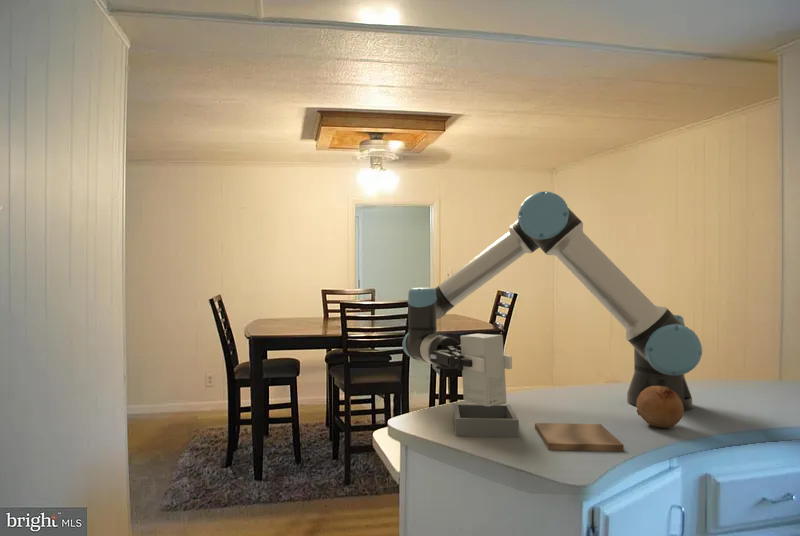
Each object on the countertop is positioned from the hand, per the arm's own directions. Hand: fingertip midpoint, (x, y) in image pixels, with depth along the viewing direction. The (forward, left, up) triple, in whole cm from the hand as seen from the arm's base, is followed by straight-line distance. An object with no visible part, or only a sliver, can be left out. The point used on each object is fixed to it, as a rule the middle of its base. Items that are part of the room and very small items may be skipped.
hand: (496, 364), depth 112 cm
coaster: (-16, +3, -15) cm, 22 cm away
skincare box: (+2, -4, -9) cm, 11 cm away
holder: (+2, -4, -15) cm, 15 cm away
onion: (-37, -8, -15) cm, 40 cm away
